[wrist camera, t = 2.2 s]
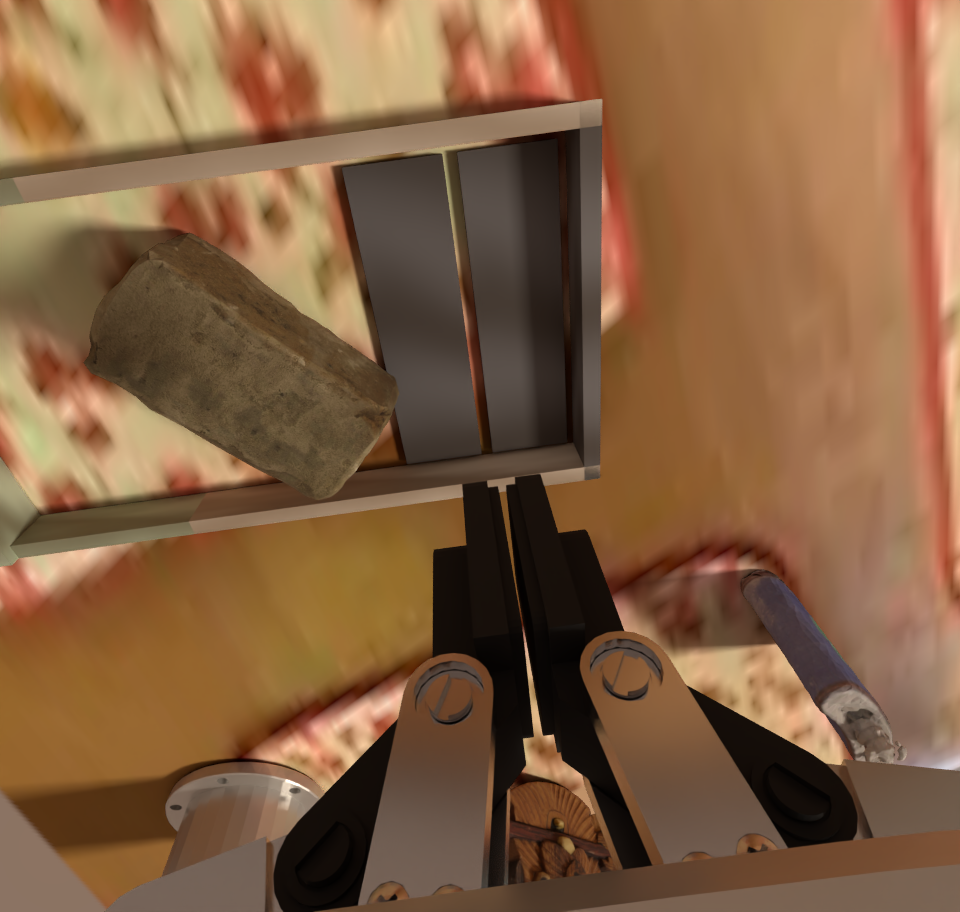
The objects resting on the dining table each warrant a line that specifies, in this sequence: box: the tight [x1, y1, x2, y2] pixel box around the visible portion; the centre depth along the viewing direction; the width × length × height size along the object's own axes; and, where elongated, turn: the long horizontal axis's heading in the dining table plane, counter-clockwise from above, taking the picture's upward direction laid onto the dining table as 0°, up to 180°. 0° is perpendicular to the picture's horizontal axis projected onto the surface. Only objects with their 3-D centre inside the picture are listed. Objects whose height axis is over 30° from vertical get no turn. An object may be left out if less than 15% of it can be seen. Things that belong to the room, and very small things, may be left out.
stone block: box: [84, 233, 399, 500], centre depth 23 cm, size 6×12×5 cm, turn 51°
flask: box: [741, 569, 907, 763], centre depth 33 cm, size 9×3×11 cm, turn 37°
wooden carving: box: [508, 781, 616, 885], centre depth 43 cm, size 16×5×10 cm, turn 55°
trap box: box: [0, 99, 602, 567], centre depth 24 cm, size 16×31×3 cm, turn 96°
